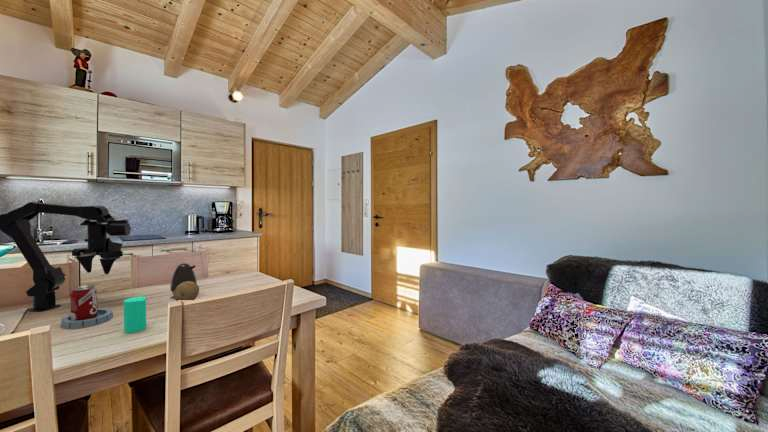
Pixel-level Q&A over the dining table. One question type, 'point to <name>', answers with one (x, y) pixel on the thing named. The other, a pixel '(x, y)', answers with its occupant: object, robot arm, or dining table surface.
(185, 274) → the dark rounded figure
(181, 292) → the natural sponge
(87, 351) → the dining table surface
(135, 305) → the candle
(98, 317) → the dish
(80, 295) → the soda can
